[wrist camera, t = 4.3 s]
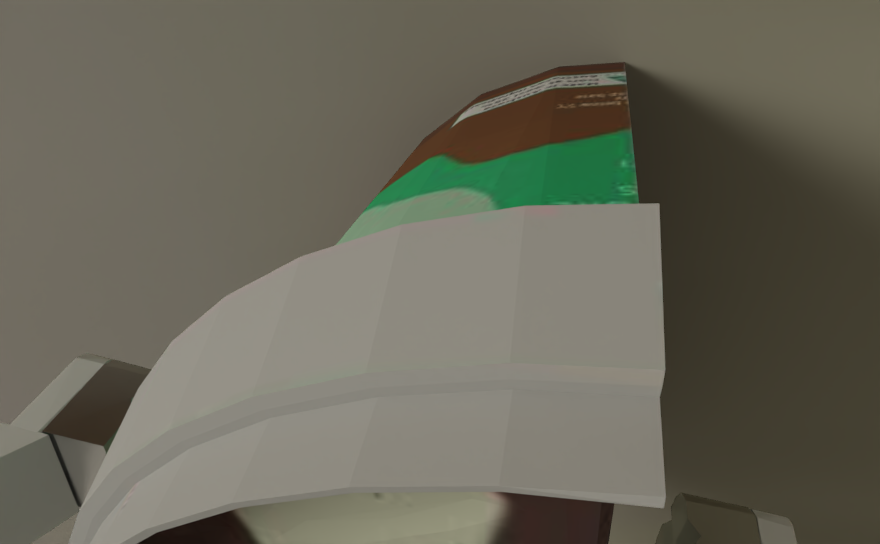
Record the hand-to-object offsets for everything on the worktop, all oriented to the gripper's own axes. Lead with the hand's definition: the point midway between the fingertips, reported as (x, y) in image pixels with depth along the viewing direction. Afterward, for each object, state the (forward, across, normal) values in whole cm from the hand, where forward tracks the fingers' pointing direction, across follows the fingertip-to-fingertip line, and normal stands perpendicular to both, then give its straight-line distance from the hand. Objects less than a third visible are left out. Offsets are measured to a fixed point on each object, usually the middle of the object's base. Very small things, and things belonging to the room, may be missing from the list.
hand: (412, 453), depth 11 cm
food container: (+6, 0, 0) cm, 6 cm away
